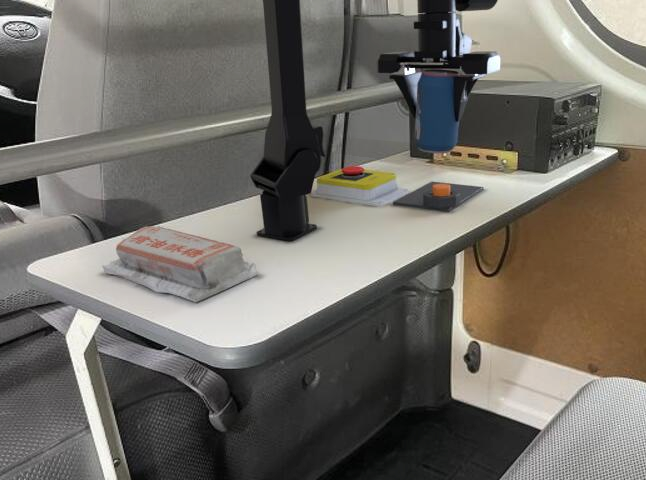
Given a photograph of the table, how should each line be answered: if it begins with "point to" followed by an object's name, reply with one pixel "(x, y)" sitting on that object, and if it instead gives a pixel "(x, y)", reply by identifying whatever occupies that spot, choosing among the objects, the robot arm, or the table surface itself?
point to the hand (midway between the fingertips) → (437, 120)
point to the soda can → (436, 112)
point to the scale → (438, 197)
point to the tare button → (441, 190)
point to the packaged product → (179, 263)
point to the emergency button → (359, 186)
